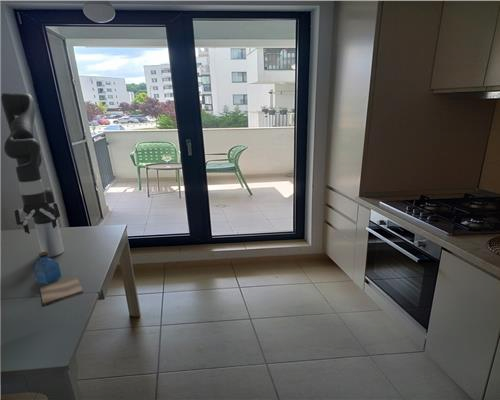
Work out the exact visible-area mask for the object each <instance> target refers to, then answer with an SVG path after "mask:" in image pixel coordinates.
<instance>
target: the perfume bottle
mask: <svg viewBox="0 0 500 400" xmlns="http://www.w3.org/2000/svg"><path fill="white" fill-rule="evenodd" d="M38 259H39V260H38V261H36V262H35V265H34V266H33V271H34V276H35V279H36V282H37V283H42V284H45V285H50V282H51V283H52V282H54V281H56V280H57V279H60V278H61V277H62V274H61V269H60V265H59V263H58V262H57V261H56V260H55V259H54V258H51V257H49V254H48V252H40V253H38Z"/></svg>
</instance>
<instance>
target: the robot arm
mask: <svg viewBox="0 0 500 400" xmlns="http://www.w3.org/2000/svg"><path fill="white" fill-rule="evenodd" d="M0 101H1V104H2V109H3V111H4V115H5V118H6V119H5V120H6V121H7V125H8V128H9V132H10V134H9V136H8V137H7V138H6V140H5V142H4V153H5V155H6V156H7V157H8V158H11V159H14V160H16V163H17V166H16V167H15V171H16V175H17V179H18V188H19V192H20V196H21V199H22V204H23V208H17V207H16V208H14V209H13V211H14V217H15V222H16V225H18V226H23V230H24V233H27V235H29V234H31V233H30V230H29V225H28V223H29V221H30V220H31V218H33V222H34V226H35V230H36V235H37V239H38V243H39V246H40V251H41V252H48V254H49V258H53V257H56V256H59V255H61V254H63V253H64V252H65V248H64V243H63V238H62V235H61V234H62V233H61V228H60V225H59V221H58V218H60V217H61V213H60V211H59V207H58V204H57V202H56V201H55V197H54V192H53V190H52V189H51V188H50V187H48V186H47V187H45V186H44V183H43V180H42V177H41V172H40V166H41V165H42V160H43V158H42V154H41V144H40V142H38V140H36V138H35V137H34V129H33V128H34V122H35V117H36V105H35V100H34V98H33V96H32V95H31V94H29V93H24V92H18V93H17V92H4V93H1V96H0ZM22 212H24V213H25V217H24V218H23V220H21V218H20V215H22ZM41 252H40V253H41Z"/></svg>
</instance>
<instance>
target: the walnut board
mask: <svg viewBox="0 0 500 400" xmlns="http://www.w3.org/2000/svg"><path fill="white" fill-rule="evenodd" d="M39 289H40V295H41V300H42V305H43V306H45V305H49V304H52V303H55V302H58V301H61V300H64V299H66V298H67V299H68V298H70V297H74V296H76V295H79V294H82V293H84V290H83V287H82V284H81V282H80V280H79V278H78V276H75V277H71V278H68V279H67V278H66V279H63V280H61V281H57V282H54V283H51V284H50V283H49V284H46V285H43V286H41V287H39Z"/></svg>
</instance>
